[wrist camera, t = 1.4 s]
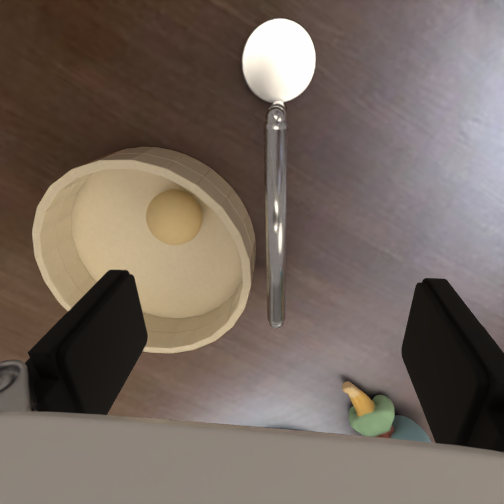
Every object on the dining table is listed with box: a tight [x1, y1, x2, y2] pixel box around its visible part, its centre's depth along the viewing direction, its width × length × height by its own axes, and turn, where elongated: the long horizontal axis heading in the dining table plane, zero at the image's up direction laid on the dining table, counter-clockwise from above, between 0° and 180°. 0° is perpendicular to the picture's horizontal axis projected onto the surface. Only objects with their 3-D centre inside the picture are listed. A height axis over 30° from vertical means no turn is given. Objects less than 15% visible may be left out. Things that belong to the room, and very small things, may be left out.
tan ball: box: [146, 190, 203, 245], centre depth 24 cm, size 4×4×4 cm
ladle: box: [241, 17, 316, 329], centre depth 21 cm, size 18×4×7 cm, turn 2°
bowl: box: [32, 147, 256, 353], centre depth 26 cm, size 16×16×4 cm
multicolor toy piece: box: [342, 381, 431, 443], centre depth 31 cm, size 7×9×12 cm
